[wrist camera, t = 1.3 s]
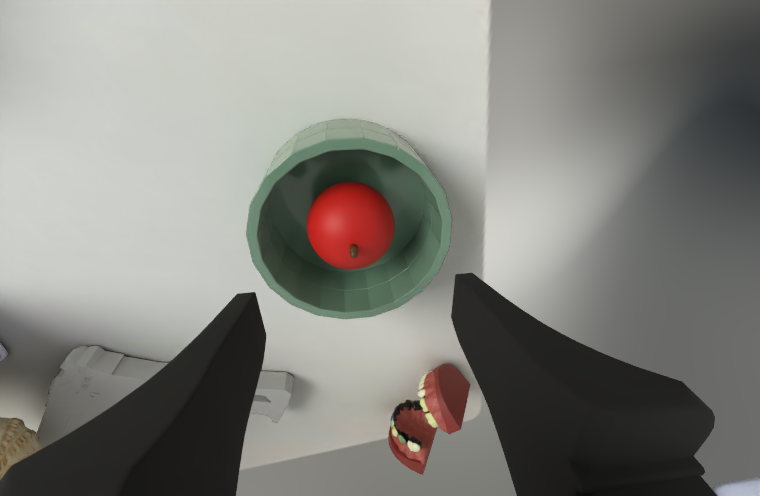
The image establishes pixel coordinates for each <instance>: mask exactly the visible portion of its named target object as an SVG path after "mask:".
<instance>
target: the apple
mask: <svg viewBox="0 0 760 496" xmlns="http://www.w3.org/2000/svg"><path fill="white" fill-rule="evenodd" d="M394 231H395V220H394V215H393V212H392V209H391V207H390V205H389V203H388V201H387V200H386V199H385V197H384V196H383V195H382V194H381V193H380V192H378V191H377V190H376V189H374V188H373V187H371V186H369V185H366V184H363V183H359V182H342V183H338V184H335V185H333V186H330V187H329V188H327V189H325V190H324V191H323V192H322V193H321V194H319V195H318V197H317V198H316V199H315V201H314V202H313V204H312V205H311V208H310V210H309V213H308V217H307V233H308V238H309V241H310V243H311V245H312V247H313V249H314V250H315V252H316V253H317V254H318V255H319V256H320V257H321V258H322V259H323V260H324V261H326V262H327V263H329V264H330V265H333V266H335V267H338V268H341V269H349V270H351V269H360V268H364V267H367V266H370V265H371V264H373V263H375V262H376V261H378V260H379V259H380V258H381V257H382V256H383V255H384V254H385V253H386V252H387V250H388V249H389V247H390V245H391V243H392V240H393V237H394Z"/></svg>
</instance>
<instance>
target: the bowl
mask: <svg viewBox="0 0 760 496" xmlns="http://www.w3.org/2000/svg"><path fill="white" fill-rule="evenodd" d="M342 182H359V183H363V184H366V185H369V186H371V187H373V188H374V189H376V190H377V191H378V192H380V193H381V194H382V195H383V196H384V197H385V199H386V200H387V201H388V203H389V205H390V207H391V209H392V212H393V215H394V220H395V231H394V237H393V240H392V243H391V245H390V247H389V249H388V250H387V252H386V253H385V254H384V255H383V256H382V257H381V258H380V259H379V260H378V261H376V262H375V263H373V264H371V265H370V266H367V267H364V268H360V269H351V270H349V269H341V268H338V267H335V266H333V265H330V264H329V263H327V262H326V261H324V260H323V259H322V258H321V257H320V256H319V255H318V254H317V253H316V252H315V250H314V249H313V247H312V245H311V243H310V241H309V238H308V233H307V217H308V213H309V210H310V208H311V205H312V204H313V202H314V201H315V199H316V198H317V197H318V195H319V194H321V193H322V192H323V191H324V190H325V189H327V188H329V187H330V186H333V185H335V184H338V183H342ZM451 226H452V217H451V213H450V209H449V205H448V202H447V198H446V194H445V192H444V190H443V188H442V187H441V185H440V184H439V183H438V181H437V180H436V178H435V177H434V176H433V174H432V173H431V171H430V170H429V169H428V167H427V166H426V165H425V163H424V162H423V161H422V159H421V158H420V157H419V156H418V154H417V153H416V152H415V151H414V149H413V148H412V147H411V145H409V144H408V143H407V142H406V141H404V140H403V139H402V138H401V137H400V136H398V135H397V134H395V133H394V132H392V131H391V130H389V129H387V128H385V127H382V126H380V125H378V124H375V123H371V122H368V121H363V120H356V119H338V120H330V121H326V122H322V123H319V124H316V125H314V126H311V127H309V128H307V129H305V130H303V131H302V132H300V133H298V134H297V135H295V136H294V137H293V138H292V139H291V140H289V141H288V142H287V143H286V144H285V145H284V146H283V147H282V148H281V149H280V150H279V151H278V153H277V154H276V156H275V158H274V160H273V161H272V163H271V165H270V167H269V169H268V171H267V172H266V174H265V176H264V178H263V180H262V182H261V184H260V186H259V188H258V190H257V192H256V193H255V195H254V197H253V199H252V201H251V203H250V207H249V214H248V222H247V230H246V237H247V241H248V245H249V249H250V253H251V257H252V261H253V263H254V265H255V267H256V268H257V270H258V271H259V273H260V274H261V276H262V277H263V279H264V280H265V282H266V283H267V285H268V286H269V287H270V288H271V289H272V290H274V291H275V292H276V293H277V294H279V295H280V296H281V297H282V298H284V299H285V300H286V301H287V302H289V303H290V304H291V305H293V306H296V307H298V308H301V309H303V310H305V311H308V312H310V313H312V314H315V315H318V316H325V317H332V318H339V319H353V318H363V317H372V316H376V315H378V314H381V313H384V312H387V311H390V310H393V309H395V308H398V307H400V306H401V305H403V304H404V303H406V302H407V301H409V300H410V299H412V298H413V297H415V296H416V295H418V294H419V293H420V292H422V291H423V290H424V288H425V287H426V286H427V285H428V284H429V283H430V281H431V280H432V279H433V278H434V277H435V276H436V274H437V273H438V271H439V270H440V268H441V265H442V263H443V261H444V259H445V256H446V254H447V252H448V250H449V246H450V238H451Z"/></svg>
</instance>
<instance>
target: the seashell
mask: <svg viewBox="0 0 760 496" xmlns="http://www.w3.org/2000/svg"><path fill="white" fill-rule="evenodd" d="M42 448H43V447H42V446H41V444H40V443H39V435H38V434H37V433H36V432H35V431H33V430H30V429H28V428H27V427H25V425H24V422H23V421H22V420H21V419H18V418H0V480H1V478H2V477H3V476H4V474H5V473H6V472H7V471H8V469H9V468H10V467H11V466H12V465H13V464H15V463H17V462H19V461H21V460H23V459H25V458H26V457H28V456H30V455H32V454H33V453H35V452H37V451H39V450H41V449H42Z"/></svg>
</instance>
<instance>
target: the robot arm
mask: <svg viewBox="0 0 760 496" xmlns="http://www.w3.org/2000/svg"><path fill="white" fill-rule="evenodd" d="M451 318H452V321H453V325H454V328H455V331H456V334H457V337H458V340H459V343H460V345H461V347H462V350H463V352H464V354H465V356H466V358H467V360H468V363H469V365H470V367H471V369H472V371H473V373H474V375H475V378H476V380H477V382H478V384H479V386H480V388H481V390H482V393H483V395H484V397H485V400H486V402H487V404H488V407H489V410H490V413H491V415H492V418H493V422H494V424H495V427H496V430H497V433H498V436H499V439H500V442H501V445H502V448H503V451H504V455H505V458H506V461H507V464H508V467H509V471H510V474H511V477H512V481H513V484H514V487H515V491H516V494H517V496H760V477H757V478H750V479H744V480H737V481H731V482H725V483H722V484H719V485H717V486H715V487H713V488H712V489H711V488H710V487H709V486H708V484H707V483H706V482H705V481H704V480H703V478H702V477H701V476H700V475H703V474H704V473H705V470H704V468H703V467H702V466H701V464H700V463H699V462H698V461H697V460H696V459H695V458H694V455H695V453H696V452H697V451H698V449H699V448H700V447H701V445H702V444H703V443H704V441H705V440H706V439H707V437H708V436H709V435H710V433H711V431H712V429H713V428H714V420H715V416H714V414H713V412H712V410H711V409H710V408H709V407H708V406H707V405H706V404H705V403H704V402H703V401H702V400H701V399H700V398H698V397H697V396H696V395H695V394H694V393H693V392H692V391H691V390H690V389H689V388H688V387H687V386H686V385H685V384H684V383H683V382H682V381H678V380H675V379H672V378H669V377H666V376H663V375H660V374H657V373H654V372H651V371H647V370H645V369H642V368H639V367H636V366H633V365H631V364H628V363H625V362H623V361H620V360H618V359H615V358H613V357H610V356H608V355H605V354H603V353H601V352H598V351H596V350H594V349H592V348H590V347H587V346H585V345H583V344H581V343H579V342H576V341H575V340H573V339H571V338H569V337H567V336H565V335H563V334H561V333H559V332H557V331H556V330H554V329H552V328H550V327H548V326H547V325H545V324H543V323H542V322H540V321H538V320H537V319H535V318H534V317H532V316H531V315H529V314H528V313H526V312H524V311H523V310H521V309H520V308H519V307H517V306H516V305H514V304H513V303H511V302H510V301H509V300H507V299H505V298H504V297H503V296H501V295H500V294H499V293H498V292H496V291H495V290H494V289H493V288H491V287H490V286H489V285H487V284H486V283H485V282H483V281H482V280H481V279H479V278H478V277H477V276H475V275H474V274H473V273H465V274H456V275H455V285H454V295H453V305H452V314H451ZM265 343H266V332H265V329H264V325H263V321H262V317H261V313H260V309H259V305H258V301H257V297H256V293H255V292H252V293H241V294H237V295H236V296H235V297H234V298H233V299H232V300H231V301H230V302H229V303H228V304H227V305H226V307H225V308H224V309H223V310H222V311H221V312H220V313H219V314H218V315H217V316H216V317H215V318H214V320H213V321H212V322H211V323H210V324H209V325H208V326H207V327H206V328H205V329H204V330H203V331H202V332H201V333H200V334H199V335H198V336H197V337H196V338H195V339H194V340H193V341H192V342H191V343H190V344H189V345H188V346H187V347H186V348H185V349H184V350H183V351H182V352H180V353H179V354H178V355H177V356H176V357H175V358H174V359H173V360H172V361H171V362H169V363H168V364H167V365H166V366H165V367H163V368H162V369H161V370H160V371H159V372H157V373H156V374H155V375H154V376H152V377H151V378H150V379H149V380H147V381H146V382H145V383H144V384H142V385H141V386H139V387H138V388H137V389H135V390H134V391H132V392H131V393H130V394H128V395H127V396H125V397H124V398H123V399H121V400H120V401H119V402H117V403H116V404H114V405H113V406H111V407H110V408H108V409H107V410H105V411H104V412H102V413H101V414H99V415H98V416H96V417H95V418H93V419H92V420H90V421H88V422H87V423H85V424H84V425H82V426H80V427H79V428H77V429H75V430H74V431H72V432H70V433H69V434H67V435H65V436H64V437H62V438H60V439H59V440H57V441H55V442H53V443H51V444H50V445H48V446H46V447H44V448H42V449H41V450H39V451H37V452H35V453H33V454H32V455H30V456H28V457H26V458H25V459H23V460H21V461H19V462H17V463H15V464H13V465H12V466H11V467H10V468H9V469H8V471H7V472H6V473H5V474H4V476H3V477H2V478H1V480H0V496H236V490H237V483H238V475H239V468H240V461H241V455H242V449H243V442H244V436H245V431H246V427H247V422H248V418H249V414H250V411H251V407H252V403H253V399H254V395H255V392H256V388H257V384H258V380H259V376H260V372H261V368H262V364H263V359H264V352H265ZM7 354H8V353H7V351H6V350H5V348H4V347H3V346H2V345H1V343H0V361H1V360H3V359H4V358H5V357H6V356H7Z"/></svg>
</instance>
